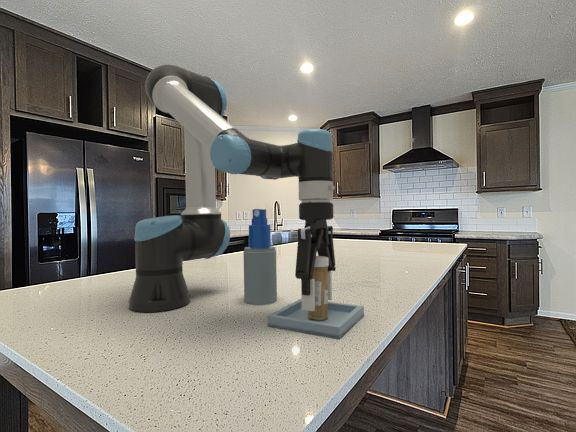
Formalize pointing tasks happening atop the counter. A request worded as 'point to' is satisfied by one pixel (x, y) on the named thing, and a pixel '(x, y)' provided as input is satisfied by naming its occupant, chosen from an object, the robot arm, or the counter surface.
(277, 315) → the tray
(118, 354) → the counter surface
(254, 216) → the spray bottle
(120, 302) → the counter surface
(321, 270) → the sprinkles bottle
